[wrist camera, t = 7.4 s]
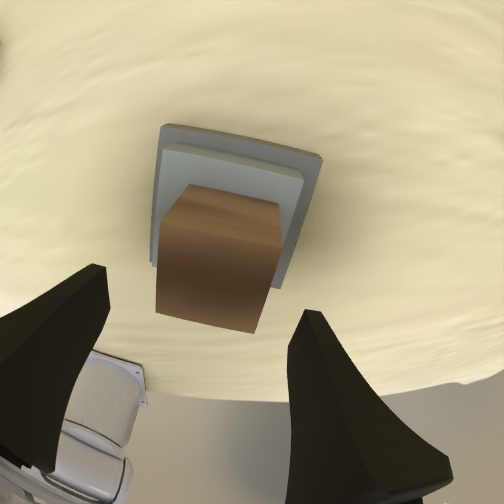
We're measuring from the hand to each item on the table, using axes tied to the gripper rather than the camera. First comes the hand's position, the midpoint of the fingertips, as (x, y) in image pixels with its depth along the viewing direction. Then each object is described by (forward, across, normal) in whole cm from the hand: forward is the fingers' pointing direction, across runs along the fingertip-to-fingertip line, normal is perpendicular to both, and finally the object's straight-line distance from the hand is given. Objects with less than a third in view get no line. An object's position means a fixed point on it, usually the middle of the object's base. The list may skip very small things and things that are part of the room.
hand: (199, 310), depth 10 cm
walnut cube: (+6, 0, 0) cm, 6 cm away
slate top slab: (+8, 0, 0) cm, 8 cm away
